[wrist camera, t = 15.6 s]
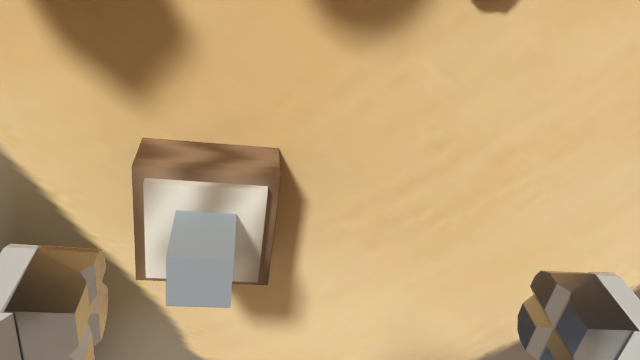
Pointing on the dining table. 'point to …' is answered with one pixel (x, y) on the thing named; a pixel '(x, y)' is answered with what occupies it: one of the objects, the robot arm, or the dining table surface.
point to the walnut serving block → (205, 200)
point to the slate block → (200, 259)
